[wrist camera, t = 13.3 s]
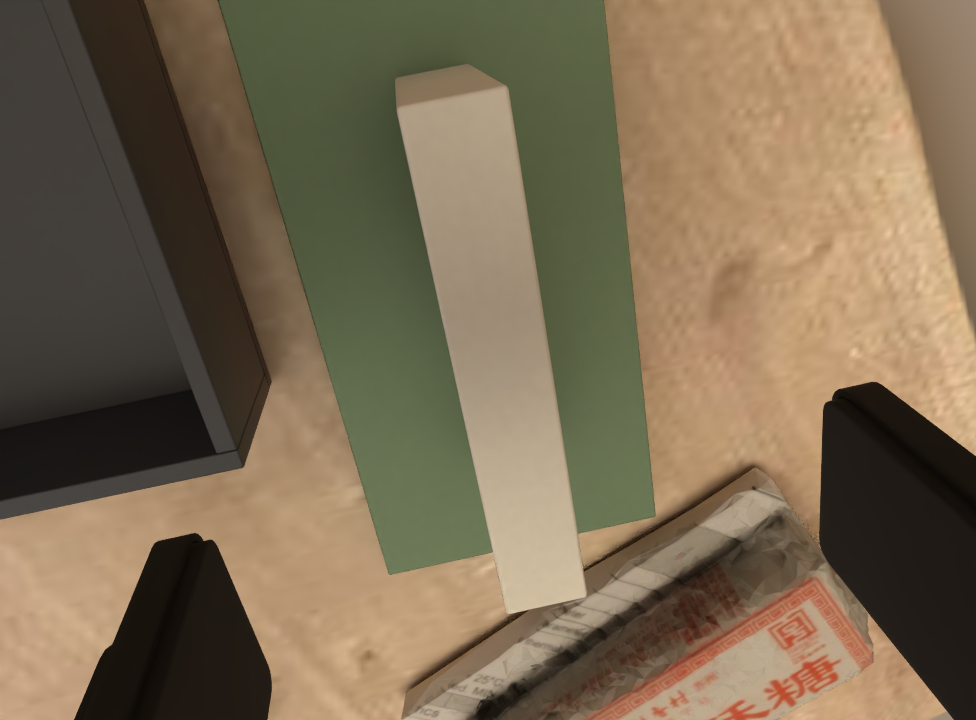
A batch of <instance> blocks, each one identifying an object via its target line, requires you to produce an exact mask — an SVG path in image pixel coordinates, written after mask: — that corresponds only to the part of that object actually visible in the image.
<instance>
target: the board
mask: <svg viewBox="0 0 976 720" xmlns="http://www.w3.org/2000/svg"><path fill="white" fill-rule="evenodd" d="M395 91H396V107H397V115H398V119H399V124H400V129H401V133H402V138H403V142H404V147H405V152H406V156H407V161H408V165H409V170H410V174H411V179H412V184H413V188H414V193H415V197H416V202H417V207H418V211H419V216H420V220H421V225H422V229H423V234H424V239H425V243H426V248H427V252H428V257H429V262H430V266H431V271H432V275H433V280H434V284H435V289H436V294H437V298H438V303H439V307H440V312H441V317H442V321H443V326H444V330H445V335H446V339H447V344H448V349H449V353H450V358H451V362H452V367H453V372H454V376H455V381H456V385H457V390H458V394H459V399H460V404H461V408H462V413H463V417H464V422H465V427H466V431H467V436H468V440H469V445H470V449H471V454H472V459H473V463H474V468H475V472H476V477H477V482H478V486H479V491H480V495H481V500H482V504H483V509H484V514H485V518H486V523H487V527H488V532H489V536H490V541H491V546H492V550H493V555H494V559H495V564H496V569H497V573H498V578H499V582H500V587H501V591H502V596H503V601H504V605H505V610H506V612H507V613H508V614H512V613H516V612H521V611H525V610H530V609H534V608H539V607H543V606H548V605H552V604H557V603H561V602H566V601H571V600H575V599H580V598H584V597H586V595H587V590H586V583H585V577H584V571H583V564H582V558H581V551H580V545H579V539H578V532H577V526H576V519H575V513H574V506H573V500H572V494H571V487H570V481H569V474H568V468H567V462H566V455H565V449H564V442H563V436H562V429H561V423H560V417H559V410H558V404H557V397H556V391H555V384H554V378H553V372H552V365H551V359H550V352H549V346H548V340H547V333H546V327H545V320H544V314H543V307H542V301H541V295H540V288H539V282H538V275H537V269H536V263H535V256H534V250H533V243H532V237H531V230H530V224H529V218H528V211H527V205H526V198H525V192H524V186H523V179H522V173H521V166H520V160H519V153H518V147H517V141H516V134H515V128H514V121H513V115H512V108H511V102H510V96H509V89H508V88H507V86H506V85H504V84H502V83H500V82H499V81H497V80H495V79H494V78H492V77H490V76H488V75H487V74H485V73H483V72H481V71H480V70H478V69H476V68H474V67H473V66H471V65H469V64H463V65H458V66H453V67H448V68H443V69H438V70H433V71H427V72H422V73H417V74H412V75H407V76H402V77H397V78H396V79H395Z"/></svg>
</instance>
